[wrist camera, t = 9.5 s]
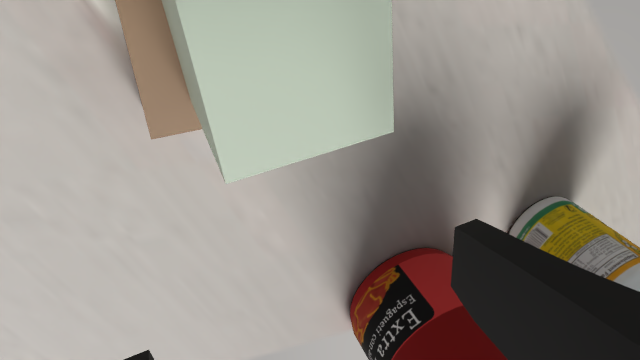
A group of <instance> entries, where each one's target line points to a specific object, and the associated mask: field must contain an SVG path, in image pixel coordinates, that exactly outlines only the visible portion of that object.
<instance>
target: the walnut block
mask: <svg viewBox="0 0 640 360" xmlns="http://www.w3.org/2000/svg"><path fill="white" fill-rule="evenodd" d="M115 2H116V5H117V9H118V13H119V17H120V21H121V25H122V29H123V32H124V36H125V40H126V44H127V48H128V52H129V56H130V59H131V63H132V67H133V71H134V75H135V79H136V83H137V86H138V90H139V94H140V98H141V102H142V106H143V110H144V113H145V117H146V121H147V125H148V129H149V133H150V137H151V139H156V138H161V137H166V136H171V135H175V134H180V133H185V132H190V131H195V130H200V129H202V126H201V124H200V121H199V119H198V117H197V114H196V112H195V110H194V107H193V105H192V103H191V99H190V96H189V92H188V89H187V86H186V82H185V79H184V75H183V72H182V69H181V65H180V62H179V58H178V55H177V51H176V48H175V45H174V41H173V38H172V34H171V31H170V28H169V24H168V21H167V17H166V14H165V11H164V7H163V4H162V0H115Z"/></svg>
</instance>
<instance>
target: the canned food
mask: <svg viewBox="0 0 640 360" xmlns="http://www.w3.org/2000/svg"><path fill="white" fill-rule="evenodd" d="M452 260H453V257H452V256H451V255H449V254H447V253H445V252H443V251H440V250H438V249H432V248H420V249H414V250H410V251H406V252H404V253H401V254H399V255H396V256H394V257H392V258H391V259H389V260H387V261H385V262H384V263H382V264H381V265H380V266H378V267H377V268H376V269H375V270H373V271H372V272H371V273H370V274H369V275H368V276H367V277H366V279H365V280H364V281H363V282H362V284H361V285H360V286H359V288H358V290H357V291H356V293H355V295H354V297H353V300H352V304H351V308H350V317H351V322H352V327H353V331H354V335H355V336H356V338H357V340H358V341H359V343H360V345H361V347H362V349H363V350H364V352H365V354H366V356H367V357H368V359H369V360H508V359H507V358H506V357H505V356H504V355H503V354H502V352H501V351H500V350H499V349H498V348H497V347H496V346H495V344H494V343H493V342H492V341H491V340H490V339H489V338H488V336H487V335H486V334H485V333H484V332H483V331H482V329H481V328H480V327H479V326H478V325H477V324H476V322H475V321H474V320H473V318H472V317H471V315H470V314H469V313H468V311H467V310H466V308H465V307H464V306H463V304H462V303H461V301H460V299H459V298H458V296H457V295H456V293H455V292H454V290H453V289H452V287H451V274H452Z"/></svg>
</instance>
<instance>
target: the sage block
mask: <svg viewBox="0 0 640 360" xmlns="http://www.w3.org/2000/svg"><path fill="white" fill-rule="evenodd" d="M162 4H163V7H164V11H165V14H166V17H167V21H168V24H169V28H170V31H171V34H172V38H173V41H174V45H175V48H176V51H177V55H178V58H179V62H180V65H181V69H182V72H183V75H184V79H185V82H186V86H187V89H188V92H189V96H190V99H191V103H192V105H193V107H194V110H195V112H196V114H197V117H198V119H199V121H200V124H201V126H202V129H203V131H204V133H205V136H206V138H207V140H208V143H209V145H210V148H211V150H212V152H213V155H214V157H215V159H216V162H217V164H218V166H219V169H220V171H221V174H222V176H223V178H224V181H225V183H226V184H228V183H231V182H234V181H238V180H241V179H244V178H247V177H251V176H254V175H257V174H260V173H263V172H267V171H270V170H273V169H276V168H279V167H283V166H286V165H289V164H292V163H296V162H299V161H302V160H305V159H308V158H312V157H315V156H318V155H321V154H324V153H328V152H331V151H334V150H337V149H341V148H344V147H347V146H350V145H353V144H357V143H360V142H363V141H366V140H369V139H373V138H376V137H379V136H382V135H386V134H389V133H392V132H394V115H393V51H392V0H162Z"/></svg>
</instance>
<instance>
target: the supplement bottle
mask: <svg viewBox="0 0 640 360" xmlns="http://www.w3.org/2000/svg"><path fill="white" fill-rule="evenodd" d="M509 234H510V235H512V236H514V237H516V238H518V239H520V240H522V241H524V242H526V243H528V244H531V245H533V246H535V247H537V248H539V249H541V250H543V251H545V252H547V253H550V254H552V255H554V256H556V257H558V258H560V259H563V260H565V261H567V262H569V263H571V264H574V265H576V266H578V267H580V268H583V269H585V270H587V271H590V272H592V273H594V274H597V275H599V276H602V277H604V278H606V279H609V280H611V281H614V282H616V283H619V284H621V285H624V286H626V287H629V288H631V289H634V290H637V291H639V292H640V248H639V247H638V246H636V245H635V244H634V243H632V242H631V241H629V240H628V239H626V238H625V237H623V236H622V235H620V234H619V233H617V232H616V231H614V230H613V229H612V228H610V227H608V226H607V225H605V224H604V223H603V222H601V221H600V220H599V219H597V218H595V217H594V216H593V215H591V214H590V213H588V212H587V211H585V210H584V209H582V208H581V207H579V206H578V205H576V204H575V203H573V202H572V201H570V200H568V199H566V198H563V197H550V198H546V199H543V200H541V201H539V202H537V203H536V204H534V205H532V206H531V207H530V208H528V209H527V210H526V211H525V212H524V213H523V214H522V215H521V216H520V217H519V218H518V220H517V221H516V222H515V224H514V225H513V227H512V228H511V230H510V233H509Z"/></svg>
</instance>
